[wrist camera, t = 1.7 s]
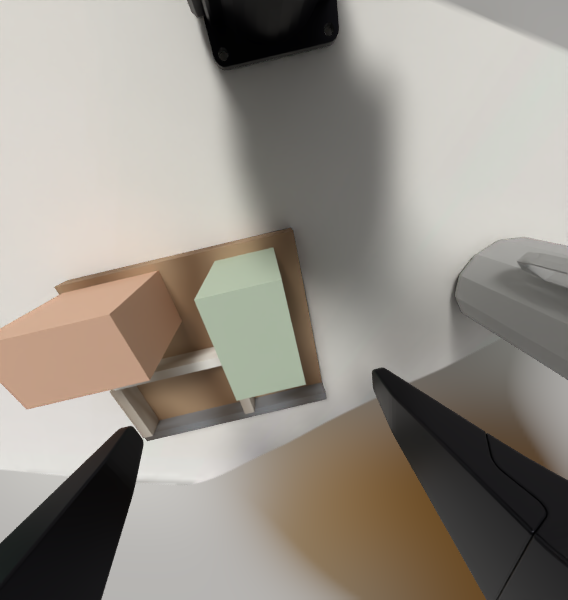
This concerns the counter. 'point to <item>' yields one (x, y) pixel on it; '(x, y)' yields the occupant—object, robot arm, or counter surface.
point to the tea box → (250, 324)
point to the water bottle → (521, 296)
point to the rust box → (88, 341)
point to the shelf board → (209, 345)
